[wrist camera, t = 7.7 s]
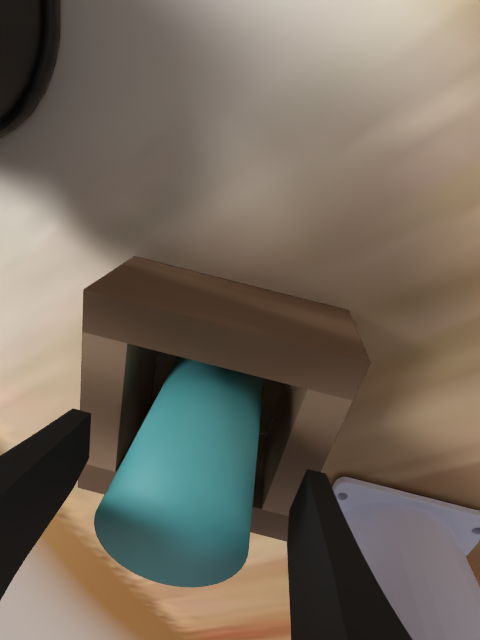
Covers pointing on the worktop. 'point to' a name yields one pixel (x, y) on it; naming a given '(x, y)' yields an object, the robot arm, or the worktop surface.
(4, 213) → the worktop surface
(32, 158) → the worktop surface
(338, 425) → the socket block
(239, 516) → the peg
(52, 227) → the worktop surface
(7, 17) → the french press
